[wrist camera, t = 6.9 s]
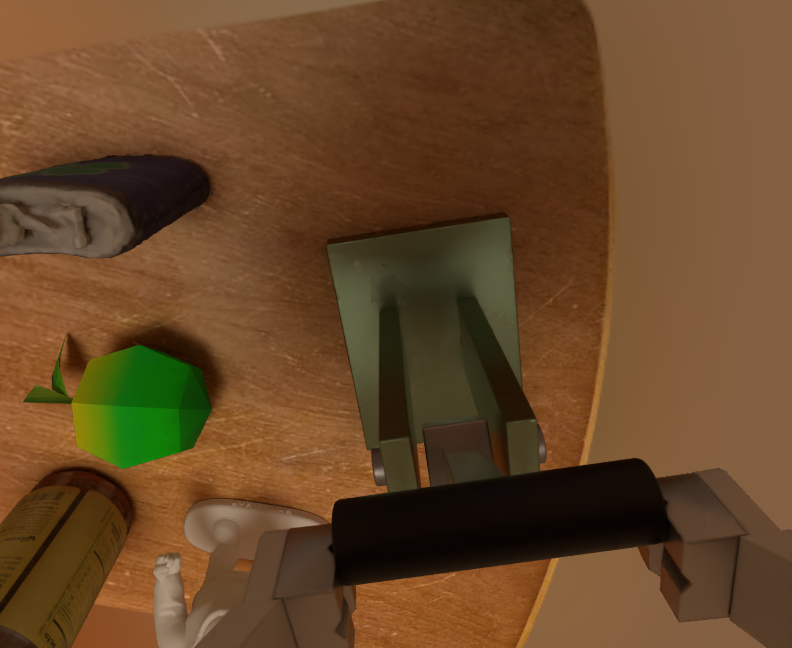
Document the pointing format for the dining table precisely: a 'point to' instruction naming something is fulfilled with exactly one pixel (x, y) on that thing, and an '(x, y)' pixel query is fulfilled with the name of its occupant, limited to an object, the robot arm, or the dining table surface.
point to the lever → (492, 512)
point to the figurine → (215, 565)
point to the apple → (133, 405)
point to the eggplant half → (97, 204)
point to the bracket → (434, 340)
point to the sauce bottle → (58, 557)
